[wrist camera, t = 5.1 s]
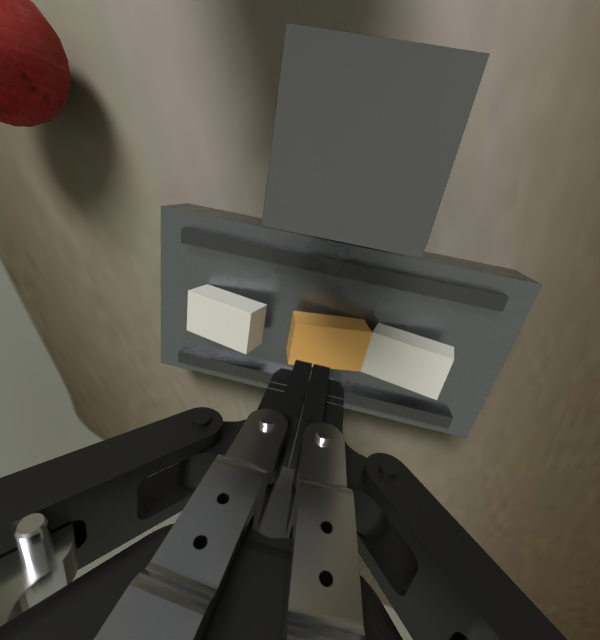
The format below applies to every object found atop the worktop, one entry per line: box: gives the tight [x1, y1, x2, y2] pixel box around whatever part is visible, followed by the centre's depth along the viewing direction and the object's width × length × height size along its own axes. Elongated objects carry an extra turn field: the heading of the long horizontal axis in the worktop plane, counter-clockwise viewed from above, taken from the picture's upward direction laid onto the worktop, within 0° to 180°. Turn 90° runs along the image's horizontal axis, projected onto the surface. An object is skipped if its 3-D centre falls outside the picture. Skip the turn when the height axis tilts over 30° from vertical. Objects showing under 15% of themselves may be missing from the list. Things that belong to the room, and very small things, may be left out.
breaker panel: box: [161, 204, 542, 438], centre depth 20 cm, size 20×10×4 cm, turn 80°
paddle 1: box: [187, 284, 267, 354], centre depth 18 cm, size 4×2×2 cm, turn 79°
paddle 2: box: [361, 323, 454, 400], centre depth 17 cm, size 4×2×2 cm, turn 79°
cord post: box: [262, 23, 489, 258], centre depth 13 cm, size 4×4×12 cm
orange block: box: [286, 311, 372, 372], centre depth 17 cm, size 4×2×2 cm, turn 80°
